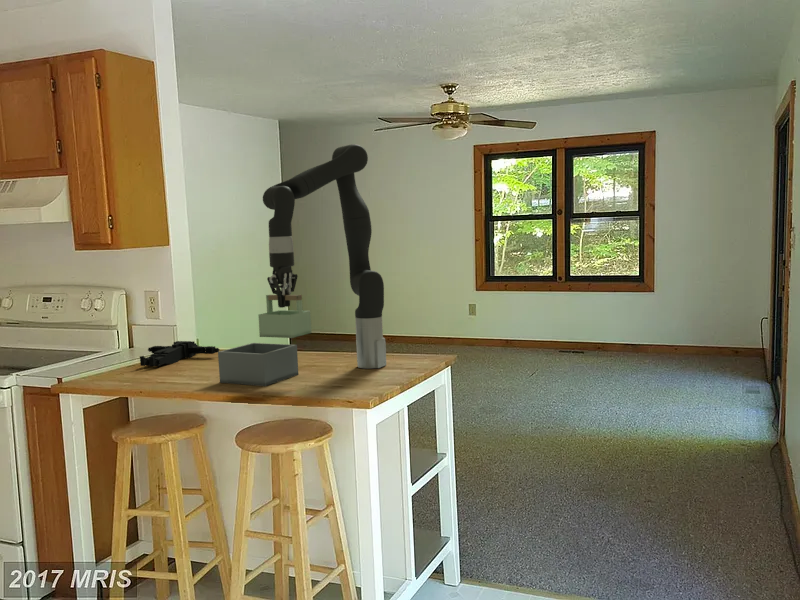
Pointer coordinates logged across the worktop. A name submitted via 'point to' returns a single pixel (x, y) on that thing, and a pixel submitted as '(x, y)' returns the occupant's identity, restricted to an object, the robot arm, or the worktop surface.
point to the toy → (174, 353)
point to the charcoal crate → (258, 364)
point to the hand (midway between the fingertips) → (284, 306)
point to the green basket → (284, 320)
